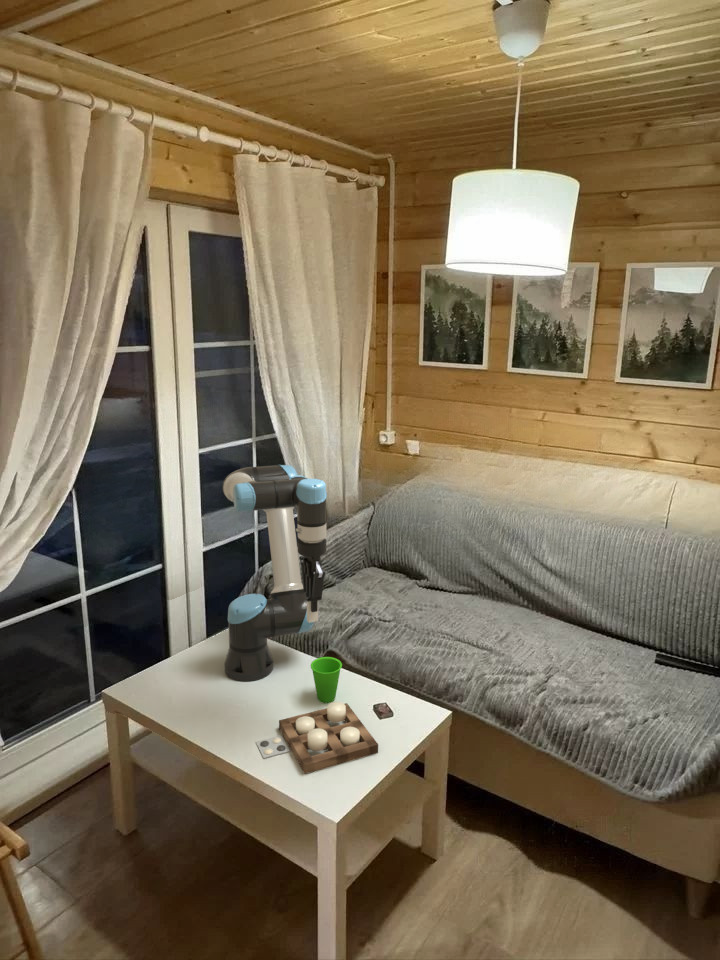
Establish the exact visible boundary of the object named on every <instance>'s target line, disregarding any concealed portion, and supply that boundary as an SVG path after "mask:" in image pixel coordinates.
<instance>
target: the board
mask: <svg viewBox="0 0 720 960" xmlns="http://www.w3.org/2000/svg"><path fill="white" fill-rule="evenodd" d="M344 704H345V706H346V718H345V720H343V721H344V723H342V724H338V725H335V726H330V725H329V723H328V722H330V721H329V720H328V718H327V707H326V708H322V709H319V710H314V711H310V712H306V713H303V714H297V715H295V716H291V717H286V718H284V719H283V718H282V719H279V720H278V729H279V731H280V732H281V734H282V737H283V739H284V741H285V742H286V744H287V746H289V747H288V748H289V750H290V751H291V752H292V755H294V758H295V759H296V761H297V762H298V765H299V766H300V768H301V770H302V771H303V774H304V775H307V774H309V773H313V772H317V771H320V770H325V769H327V768H331V767H333V766H338V765H341V764H344V763H347V762H352V761H355V760H358V759H361V758H365V757H369V756H371V755H375V754H378V753H379V743H378V742H377V741H376V740H375V738H374V737H373V735H372V733H370V731H369V730H368V729H367V728H366V727H365V725H364V723H362V720H360V719H359V717H358V716H357V714H356V713H355V712H354V711H353V709H352V708H351V706H350V705H349V704H348V702H346V703H344ZM303 716H308V717H311V718H313V719H314V721H315V729H316V728H319V729H323V730H325V731H326V732H327V747H326V748H325V749H326V750H327V751H326V752H322V753H319V754H315V755H312V756H311V754H310V753H309V751H308V750H310V749H309V748H308V734H304V735H300V736H298V734H297V733H296V720H297V719H298V718H300V717H303ZM345 727H355V728H357V729H358V730H359V732H360V739H359V743H357V744H354V745H350V746H346V747H343V745H342V744H341V742H340V732H341V730H342V729H343V728H345Z"/></svg>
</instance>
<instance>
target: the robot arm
mask: <svg viewBox="0 0 720 960" xmlns="http://www.w3.org/2000/svg"><path fill="white" fill-rule="evenodd" d="M222 492H223V494H224V497H226V498H227V500H228V501H230V502H232V503H233V505H234V510H236V511H237V512H248V513H249V512H253V511H264V512H265V514H266V520H267V521H266V522H267V523H266V524H267V530H268V540H269V548H270V557H271V567H272V576H273V585H274V586H273V589H272V590H271V591H270V598H268V599H267V598H266V597H265V595H263V594H260V593H257V594H256V593H249V594H247V593H246V594H244V595H240V596H238V597H237V598H235V599H234V600H232V601H231V602H230V603H229V605H228V609H227V622H228V643H229V644H228V645H229V646H228V649H227V650H228V651H227V654H226V657H225V660H224V666H223V667H224V674H225V675H226V676H227V677H228V678H229V679H232V680H234V681H240V682H251V681H252V682H253V681H258V680H261V679H263V678H265V677H267V676H268V675H270V674H271V673H272V671H273V670H274V658H273V656H272V654H271V653H272V652H271V650H270V648H269V646H268V639H269V638H274V637H281V636H288V635H299V634H301V633H306V632H310V631H311V629H312V628H313V626H314V624H315V623H314V622H318V621H319V601H323V600H322V598H323V591H324V579H325V576H326V571H325V569H323V570H322V568H321V567H322V565H323V564H322V560H321V559H322V558H321V557H322V556H323V555H325V554H326V553H327V534H328V533H327V525H328V524H327V494H328V493H327V485H326V482H325V481H324V480H322V479H319V478H308V477H306V476H304V475H301V474H299V475H298V473H297V470H296V469H295V468H294V466H292V465H289V464H276V465H274V464H273V465H264V466H263V465H262V466H261V465H260V466H248V467H243V468H240V469H239V468H238V469H237V470H234V471H233V472H231V473H229V474H228V475H227V476H226V477H225V478H224V480H223V482H222ZM295 508H296V514H297V515H296V519H297V522H296V523H297V528H296V525H295V519H294V509H295ZM296 532H297V534H296ZM297 538H298V539H297ZM299 555H301V556H299Z"/></svg>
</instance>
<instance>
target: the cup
mask: <svg viewBox="0 0 720 960" xmlns="http://www.w3.org/2000/svg"><path fill="white" fill-rule="evenodd" d="M310 668H311V670H312V675H313V681H314V686H315V687H314V688H315V692H316V693H315V694H316V698H317V701H318V702H320V703H322V704H330V703H332V702H335V700H336V695H337V690H338V685H339V678H340V672H341V669H342V668H343V663H342V662H341V660H339V659H337V658H336V657H332V656H322V657H317V658H316V659H314V660H312V661H311V663H310Z"/></svg>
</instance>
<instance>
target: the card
mask: <svg viewBox="0 0 720 960" xmlns="http://www.w3.org/2000/svg"><path fill="white" fill-rule="evenodd" d="M255 743H256V746H257V748H258V749H259V753H260V754H261V757H262V758H263V760H265V759H269V758H272V757H276V756H279V755H283V754H287V753H290V752H291V749H290V747H288V746H289V745H288V743H287V741H286V740H285V738H284V736H283V734H282V735H277V736H273V737H269V738H266V739H265V738H264V739H261V740H258V741H255Z"/></svg>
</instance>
